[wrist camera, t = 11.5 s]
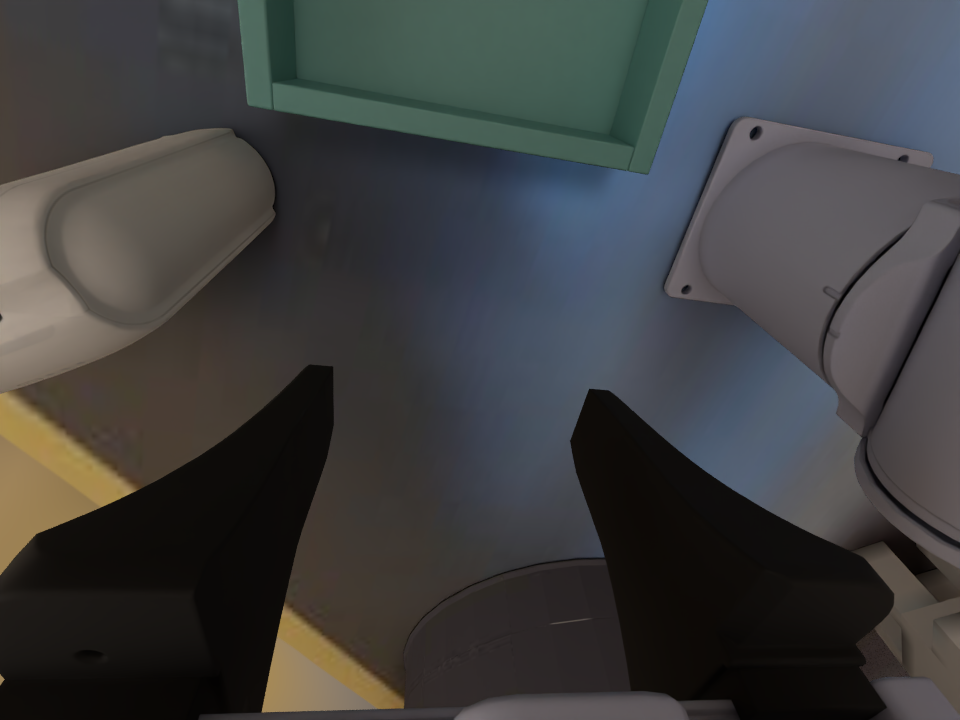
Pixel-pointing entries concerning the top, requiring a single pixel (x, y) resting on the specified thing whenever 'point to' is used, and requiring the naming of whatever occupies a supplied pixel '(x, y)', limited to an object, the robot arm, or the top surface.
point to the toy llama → (922, 618)
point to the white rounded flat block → (120, 246)
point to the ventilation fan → (519, 638)
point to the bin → (479, 70)
